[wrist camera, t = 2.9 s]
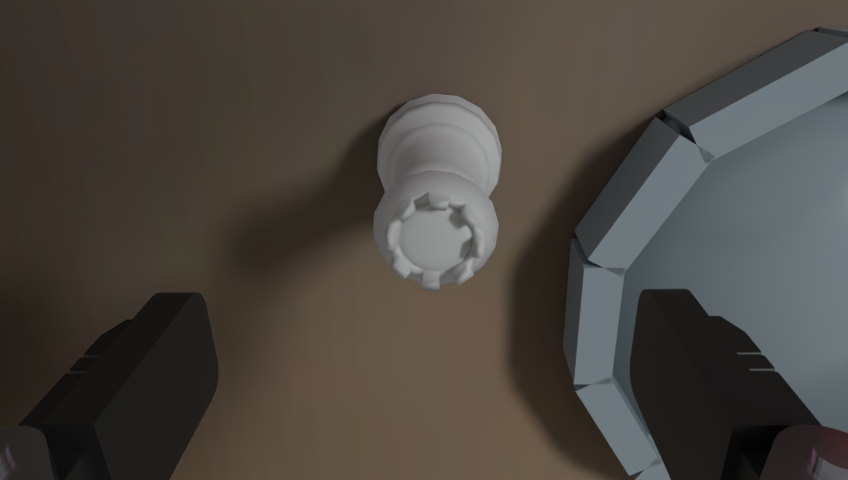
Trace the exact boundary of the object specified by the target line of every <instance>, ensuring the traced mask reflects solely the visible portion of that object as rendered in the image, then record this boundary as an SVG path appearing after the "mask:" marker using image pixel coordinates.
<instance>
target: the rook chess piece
mask: <svg viewBox="0 0 848 480" xmlns="http://www.w3.org/2000/svg"><path fill="white" fill-rule="evenodd" d="M501 153H502V149H501V145H500V142H499V138H498V134H497V131H496V127H495V126H494V125H493V123H492V122H491V121H490V120H489V118H488V117H487V116H486V115H485V113H484V112H483V111H482V110H481V108H479V107H477V106H476V105H474V104H472V103H470V102H468V101H466V100H464V99H463V98H461V97H459V96H452V95H442V94H430V95H427V96H424V97H420V98H417V99H414V100H411V101H408V102H407V103H406V104H405V105H403V106H402V107H401V108H400V109H399V110H398V111H396V112H395V113H394V114H393V115H392V116H390V117H389V120H388V122H387V124H386V126H385V128H384V130H383V132H382V134H381V136H380V138H379V146H378V158H377V171H378V174H379V177H380V180H381V182H382V185H383V188H384V191H385V193H384V195H383V197H382V199H381V201H380V203H379V205H378V207H377V209H376V210H375V212H374V225H373V237H374V240H375V242H376V245H377V248H378V250H379V253H380V255H381V257H382V258H383V259H384V260H385V261H386V262H387V263H388V265H389V266H390V268H391V269H392V270H393V271H394V272H395V273H396V274H397V275H398V276H399V277H400V278H401V279H402V281H403V280H404V279H405V278H408V279H410V280H412V281H414V282H416V283H421V287H420V289H424V290H434V291H440V285H445V284H449V283H453V282H456V283H457V285H458V286H459V285H461V284H462V283H464V282H465V281H466V280H468V279H469V278H471V277H472V276H473V275H474V272H476V271H477V270H479V269H480V268H481V267H483V266H484V264H485V263H486V261H487V260H488V258H489V256H490V255H491V253H492V252H493V250H494V249H495V246H496V240H497V233H498V227H499V224H498V220H497V217H496V213H495V210H494V207H493V203H492V201H491V200H490V199H489V198H488V197H489V196H490V194H491V192H492V191H493V189H494V188H495V186H496V184H497V183H498V180H499V174H500V167H501V160H502V157H501Z"/></svg>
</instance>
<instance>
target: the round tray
mask: <svg viewBox="0 0 848 480" xmlns="http://www.w3.org/2000/svg"><path fill="white" fill-rule="evenodd" d="M663 110H664V112H665V114H666V116H667V117H666V118H665V119H664V120H663V121H662V120H660V119H659V118H657V117H654V119H653V120H652V121H651V123H650V124H649V126H648V127H647V128H646V130H645V131H644V133H643V134H642V135H641V137H640V138H639V140H638V141H637V143H636V144H635V145H634V147H633V148H632V150H631V151H630V152H629V154H628V155H627V157H626V158H625V159H624V161H623V162H622V164H621V165H620V166H619V168H618V169H617V171H616V172H615V173H614V175H613V176H612V178H611V179H610V180H609V182H608V183H607V185H606V186H605V187H604V189H603V190H602V192H601V193H600V195H599V196H598V197H597V199H596V200H595V202H594V203H593V204H592V206H591V207H590V209H589V210H588V211H587V213H586V214H585V216H584V217H583V218H582V220H581V221H580V223H579V224H578V225H577V227H576V228H575V230H574V231H575V233H576V235H577V238H571V246H570V259H569V272H568V285H567V297H566V310H565V323H564V336H563V349H564V354H565V357H566V361H567V364H568V367H569V371H570V374H571V378H572V381H573V384H574V388H575V391H576V393H577V395H578V396H579V398H580V399H581V401H582V402H583V404H584V406H585V407H586V409H587V410H588V412H589V413H590V415H591V417H592V418H593V420H594V421H595V423H596V424H597V426H598V428H599V429H600V431H601V432H602V434H603V435H604V437H605V439H606V440H607V442H608V443H609V445H610V446H611V448H612V450H613V451H614V453H615V454H616V456H617V458H618V459H619V461H620V462H621V464H622V465H623V467H624V469H625V470H626V472H627V473H628V475H629V476H630V475H633V478H634V480H671V479H670V477H669V474H668V472H667V470H666V468H665V465H664V463H663V461H662V458H661V456H660V454H659V452H658V449H657V447H656V445H655V443H654V440H653V438H652V436H651V433H650V431H649V429H648V427H647V424H646V422H645V420H644V418H643V415H642V413H641V411H640V408H639V406H638V404H637V402H636V399H635V397H634V394H633V391H632V387H631V381H630V357H631V349H632V342H633V335H634V328H635V320H636V313H637V306H638V300H639V296H640V293H641V292H642V290H643V289H688V290H690V292H691V293H692V294H693V295H694V297H695V298H696V299H697V301H698V302H699V303H700V305H701V306H702V307H703V309H704V310H705V311H706V313H707V314H708V315H709V316H721V317H723V318H724V319H726V320H727V321H729V322H730V323H732V324H734V325H735V326H737V327H738V328H740V329H741V330H743V331H744V332H746V333H747V335H748V336H749V337H750V338H751V339H752V341H753V342H754V343H755V344H756V346H757V347H758V348H759V349H760V350H761V354H762V355H765V357H766V358H767V359H768V360H769V361H770V363H771V364H772V365H773V366H774V368H775V372H779V374H780V375H781V376H782V377H783V378H784V380H785V381H786V382H787V383H788V385H789V386H790V387H791V388H792V389H793V391H794V392H795V393H796V394H797V396H798V397H799V398H800V399H801V400H802V402H803V403H804V404H805V405H806V407H807V408H808V409H809V410H810V411H811V413H812V414H813V415H814V416H815V418H816V419H817V420H818V421H819V422H820V424H821V425H822V426H825V427H830V428H834V429H837V430H840V431H844V432H846V433H848V26H835V27H819V29H818V32H815V31H810V30H807V31H805V32H803V33H802V34H800V35H798V36H796V37H794V38H792V39H791V40H789V41H787V42H785V43H783V44H781V45H780V46H778V47H776V48H774V49H772V50H770V51H769V52H767V53H765V54H763V55H761V56H760V57H758V58H756V59H754V60H752V61H750V62H749V63H747V64H745V65H743V66H741V67H739V68H738V69H736V70H734V71H732V72H730V73H728V74H727V75H725V76H723V77H721V78H719V79H717V80H716V81H714V82H712V83H710V84H708V85H707V86H705V87H703V88H701V89H699V90H697V91H696V92H694V93H692V94H690V95H688V96H686V97H685V98H683V99H681V100H679V101H677V102H675V103H674V104H672V105H670V106H668V107H666V108H664V109H663Z"/></svg>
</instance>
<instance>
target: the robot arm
mask: <svg viewBox="0 0 848 480" xmlns="http://www.w3.org/2000/svg"><path fill="white" fill-rule="evenodd" d="M630 381H631V387H632V391H633V394H634V397H635V399H636V402H637V404H638V406H639V408H640V411H641V413H642V415H643V418H644V420H645V422H646V424H647V427H648V429H649V431H650V433H651V436H652V438H653V440H654V443H655V445H656V447H657V449H658V452H659V454H660V456H661V458H662V461H663V463H664V465H665V468H666V470H667V472H668V474H669V477H670V479H671V480H848V433H846V432H844V431H840V430H837V429H834V428H830V427H825V426H822V425H821V424H820V422H819V421H818V420H817V419H816V418H815V416H814V415H813V414H812V413H811V411H810V410H809V409H808V408H807V407H806V405H805V404H804V403H803V402H802V400H801V399H800V398H799V397H798V396H797V394H796V393H795V392H794V391H793V389H792V388H791V387H790V386H789V385H788V383H787V382H786V381H785V380H784V378H783V377H782V376H781V375H780V374H779V372H775V368H774V366H773V365H772V364H771V363H770V361H769V360H768V359H767V358H766V357H765V355H762V354H761V350H760V349H759V348H758V347H757V346H756V344H755V343H754V342H753V341H752V339H751V338H750V337H749V336H748V335H747V333H746V332H744V331H743V330H741V329H740V328H738V327H737V326H735V325H734V324H732V323H730V322H729V321H727V320H726V319H724V318H723V317H721V316H709V315H708V314H707V313H706V311H705V310H704V309H703V307H702V306H701V305H700V303H699V302H698V301H697V299H696V298H695V297H694V295H693V294H692V293H691V292H690V290H688V289H643V290H642V292H641V293H640V296H639V300H638V306H637V313H636V320H635V328H634V335H633V342H632V349H631V357H630ZM217 382H218V361H217V356H216V351H215V346H214V342H213V337H212V332H211V327H210V322H209V317H208V312H207V308H206V303H205V300H204V298H203V296H202V295H201V294H200V293H197V292H191V293H156V294H155V295H153V296H152V297H151V299H150V300H149V301H148V302H147V303H146V304H145V305H144V307H143V308H142V309H141V310H140V311H139V312H138V313H137V315H136V316H135V317H134V318H133V319H132V320H125V321H124V322H122V323H120V324H119V325H117V326H115V327H114V328H112V329H111V330H109V331H107V332H106V333H104V334H103V335H101V336H100V337H99V338H98V339H97V340H96V341H95V342H94V344H93V345H92V346H91V347H90V348H89V349H88V350H87V351H86V352H85V353H84V357H83V358H80V359H79V360H78V361H77V362H76V363H75V364H74V365H73V366H72V367H71V368H70V372H69V374H65V375H64V376H63V377H62V378H61V379H60V380H59V381H58V383H57V384H56V385H55V386H54V387H53V388H52V389H51V390H50V391H49V392H48V393H47V395H46V396H45V397H44V398H43V399H42V400H41V401H40V402H39V403H38V404H37V405H36V406H35V408H34V409H33V410H32V411H31V412H30V413H29V414H28V415H27V416H26V417H25V418H24V419H23V421H22V422H21V423H20V424H19V425H18V426H8V427H2V428H0V480H169V479H170V477H171V475H172V473H173V472H174V470H175V468H176V466H177V464H178V462H179V460H180V458H181V457H182V455H183V453H184V451H185V449H186V447H187V445H188V443H189V441H190V440H191V438H192V436H193V434H194V432H195V430H196V428H197V426H198V425H199V423H200V421H201V419H202V417H203V415H204V413H205V411H206V410H207V408H208V406H209V404H210V402H211V400H212V398H213V396H214V394H215V391H216V387H217Z"/></svg>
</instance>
